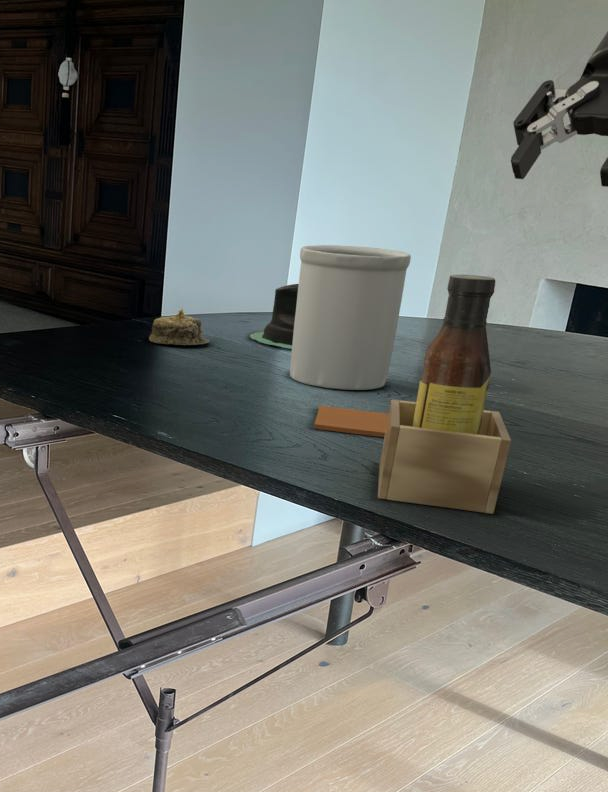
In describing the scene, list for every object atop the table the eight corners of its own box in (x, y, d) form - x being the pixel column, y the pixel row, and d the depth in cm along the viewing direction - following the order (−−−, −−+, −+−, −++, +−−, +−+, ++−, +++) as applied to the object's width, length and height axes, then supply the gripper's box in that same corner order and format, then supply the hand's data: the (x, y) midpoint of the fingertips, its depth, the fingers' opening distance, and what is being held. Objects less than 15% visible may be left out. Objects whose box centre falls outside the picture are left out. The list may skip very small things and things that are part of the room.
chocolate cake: (360, 331, 177) (387, 356, 160) (264, 375, 181) (279, 405, 164) (332, 250, 171) (356, 267, 153) (232, 298, 175) (245, 320, 157)
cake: (148, 349, 157) (147, 313, 154) (149, 339, 166) (148, 305, 163) (211, 348, 156) (211, 313, 154) (208, 338, 165) (209, 304, 163)
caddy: (483, 479, 102) (499, 411, 99) (493, 514, 92) (511, 440, 89) (379, 465, 104) (391, 399, 101) (377, 498, 94) (391, 425, 91)
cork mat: (400, 419, 123) (400, 415, 123) (400, 439, 114) (401, 434, 114) (319, 410, 125) (319, 405, 125) (313, 429, 116) (314, 423, 116)
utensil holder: (275, 383, 137) (293, 248, 130) (292, 364, 150) (309, 241, 142) (383, 397, 134) (408, 259, 126) (390, 376, 147) (413, 250, 139)
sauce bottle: (479, 497, 96) (530, 282, 87) (427, 501, 94) (473, 281, 85) (437, 476, 102) (481, 272, 93) (387, 480, 100) (426, 271, 91)
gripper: (567, 12, 96) (482, 138, 94) (723, 8, 87) (633, 147, 85) (576, 79, 102) (496, 200, 100) (723, 82, 93) (639, 214, 91)
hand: (559, 175), depth 92 cm, fingers open, 8 cm apart
